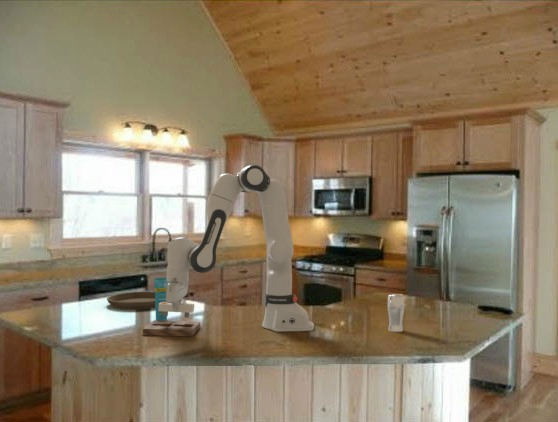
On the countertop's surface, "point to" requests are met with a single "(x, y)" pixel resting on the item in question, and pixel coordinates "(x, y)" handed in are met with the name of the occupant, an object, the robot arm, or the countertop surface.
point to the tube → (160, 296)
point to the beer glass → (395, 312)
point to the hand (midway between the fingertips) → (176, 310)
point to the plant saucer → (133, 300)
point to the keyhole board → (171, 328)
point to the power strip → (181, 308)
